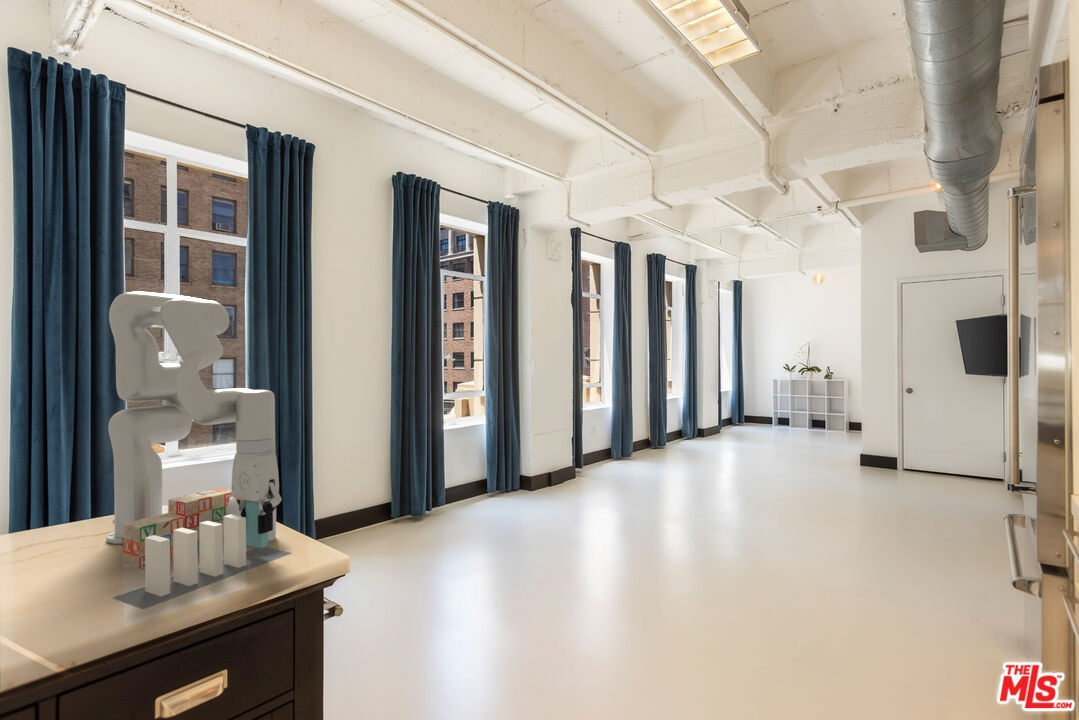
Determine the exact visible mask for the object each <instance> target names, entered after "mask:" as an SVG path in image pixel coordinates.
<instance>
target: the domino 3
mask: <svg viewBox="0 0 1079 720" xmlns="http://www.w3.org/2000/svg"><path fill="white" fill-rule="evenodd" d="M199 542H200V550H199V567H200V572H201V573H204V574H208V575H211V576H214V577H216V576H218V575H221V574H223V559H224V542H223V524H220V523H215V522H211V521H204V522H201V523H199Z"/></svg>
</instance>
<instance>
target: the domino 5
mask: <svg viewBox="0 0 1079 720" xmlns="http://www.w3.org/2000/svg"><path fill="white" fill-rule="evenodd" d="M266 505H267V502H264V506H266ZM258 515H260V511H259V506H258V503H255V502H249V501H246V546H249V547H253V548H263V547H269V541H268V532H266V533H263V534H258Z"/></svg>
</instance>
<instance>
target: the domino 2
mask: <svg viewBox="0 0 1079 720" xmlns="http://www.w3.org/2000/svg"><path fill="white" fill-rule="evenodd" d="M173 552H174V558H173V576H174V582H177V583H181V584H184V585H187V586H191V585H194V584H197V583H198V568H199V567H198V564H199V563H198V551H197V531H194V530H190V529H185V528H179V529H175V530H173Z"/></svg>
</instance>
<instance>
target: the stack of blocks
mask: <svg viewBox="0 0 1079 720" xmlns="http://www.w3.org/2000/svg"><path fill="white" fill-rule="evenodd" d="M230 497H233V496H232V489H227V488H216V489H212V490H204V491H199V492H195V493H192V494H187V495H183V496H179V497H178V496H177V497H173V498H169V499H168V500H167V502H168V503H167V504H168V508H167V512H166V513H162V515H158V516H153V517H149V518H145V519H141V520H137V521H132V522H128V523H124V524H123V544H122V561H123V562H122V565H123V567H126V566H128V567H132V568H134V569H138V570H139V569H144V568H145V538H146V537H149V536H153V535H156V536H160V537H163V538H167V539H170V560H172V559H174V552H173V530H175V529H179V528H185V529H190V530H194V531H197V552H198V551H200V542H199V523H201V522H204V521H211V522H215V523H220V524H223V516H227V507H228V503H229V500H230ZM223 543H224V536H223Z"/></svg>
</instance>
